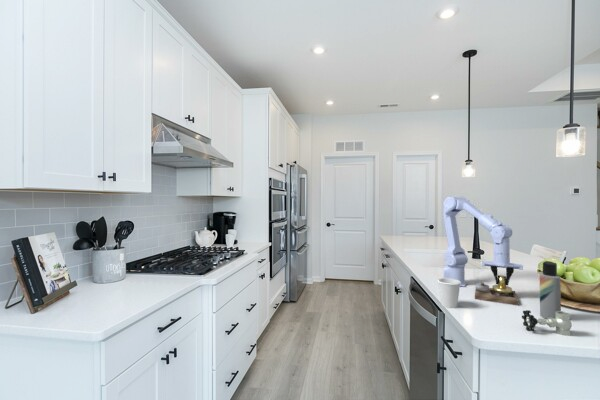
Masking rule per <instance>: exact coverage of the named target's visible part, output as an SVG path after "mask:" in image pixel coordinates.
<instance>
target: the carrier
mask: <svg viewBox="0 0 600 400" xmlns="http://www.w3.org/2000/svg"><path fill="white" fill-rule="evenodd" d="M495 294H496V295H495ZM497 294H498V295H497ZM511 296H512V297H511ZM474 300H478V301H479V300H480V301H485V302H491V303H492V302H493V303H499V304H506V305H513V306H519V299H518V297H517V292H516V291H515V290H512V293H510V294H503V293H498V292H495V291H493V287H490V285H489V284H485V283H484V282H480V283H476V285H475V291H474Z"/></svg>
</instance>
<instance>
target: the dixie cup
mask: <svg viewBox="0 0 600 400" xmlns="http://www.w3.org/2000/svg"><path fill="white" fill-rule="evenodd" d="M437 282H438V283H437V284H438V289H439V296H440V304H441V306H442V307H444V308H448V309H457V308H458V304H459V303H458V302H459V297H460V296H459V295H460V288H461V286H460V284H461V282H460V281H458V280H455V279H449V278H438V279H437Z"/></svg>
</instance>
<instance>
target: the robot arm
mask: <svg viewBox="0 0 600 400" xmlns="http://www.w3.org/2000/svg"><path fill="white" fill-rule="evenodd" d="M442 204H443V210H442V217H443V222H444V228H445V233H446V242H447V246H448V247H447V249H446V250H445V252H444V255H445V256H444V262H445V265H443V278H449V279H455V280H458V281H460V282H461V284H460V287H463V288H466V284H467V282H466V280H465V278H466V277H465V267H466V265H467V263H468V260H469V259H468V255H467V254H466V251H465V249H464V248H463V247H462V246H461V242H460V241H461V240H460V237H459V235H460V234H459V230H458V224H457V220H456V219H457V217H456V216H458V214H459V213H460V212H462V211H465V212H467V213H468V214H470V215H471V216H473V217H474V218H476V219H477V220H478V224H479V225H481V226H482V227H483V228H484V229H485V230H487V231H488V232H489V233H490V234H489V235H490V236H491V237H492V242H493V261H485V260H482V262H481V266H482V267H490V270H491V272H492V274H493V276H494V280H495V285H498V268H503V269H506V270H505V271H506V275H505V276H506V286H509V282H510V280H511V277H512V275H513V273H514V272H515V270H521V271H523V270H524V265H523V264H521V263H520V264H519V263H513V262H512V263H511V262H510V259H511V258H510V257H511V256H510V253H511V252H510V245H511V244H510V238H511V237H512V236H513V230H512V228H511V227H510V226H509V225H506V224H503V223H502V222H500V221H498V220H497V219H496V218H494V215H492V214H489V213H488V214H487V213H486V214H485V213H483V212H482V211H481V210H480V209H478V208H477V207H476V206H475V205H474V204H472V203H471V201H470V200H469V199H467V198H466V197H464V196H448V197H446V199H445V200H443V202H442Z"/></svg>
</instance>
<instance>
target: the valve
mask: <svg viewBox="0 0 600 400" xmlns="http://www.w3.org/2000/svg"><path fill="white" fill-rule="evenodd" d="M522 314H523V315H521V319H523V322H522V325H523V326H524V327H525V330H526V331H527V332H535V327H536V326H537V325H538V324H539V325H544V326H545V325H546V326H548V327H549V328H555V333H556V334H558V335H560V336H567V337H570V336H571V329H572V326H573V325H572V322H571V320H570V319H571V314H570V313H569V312H567V311H564V310H561V311H556V318H555V319H553V318H552V317H548V318H547V319H545V318H538V319H537V317H535V315H533V314H532V311H531V310H522Z"/></svg>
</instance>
